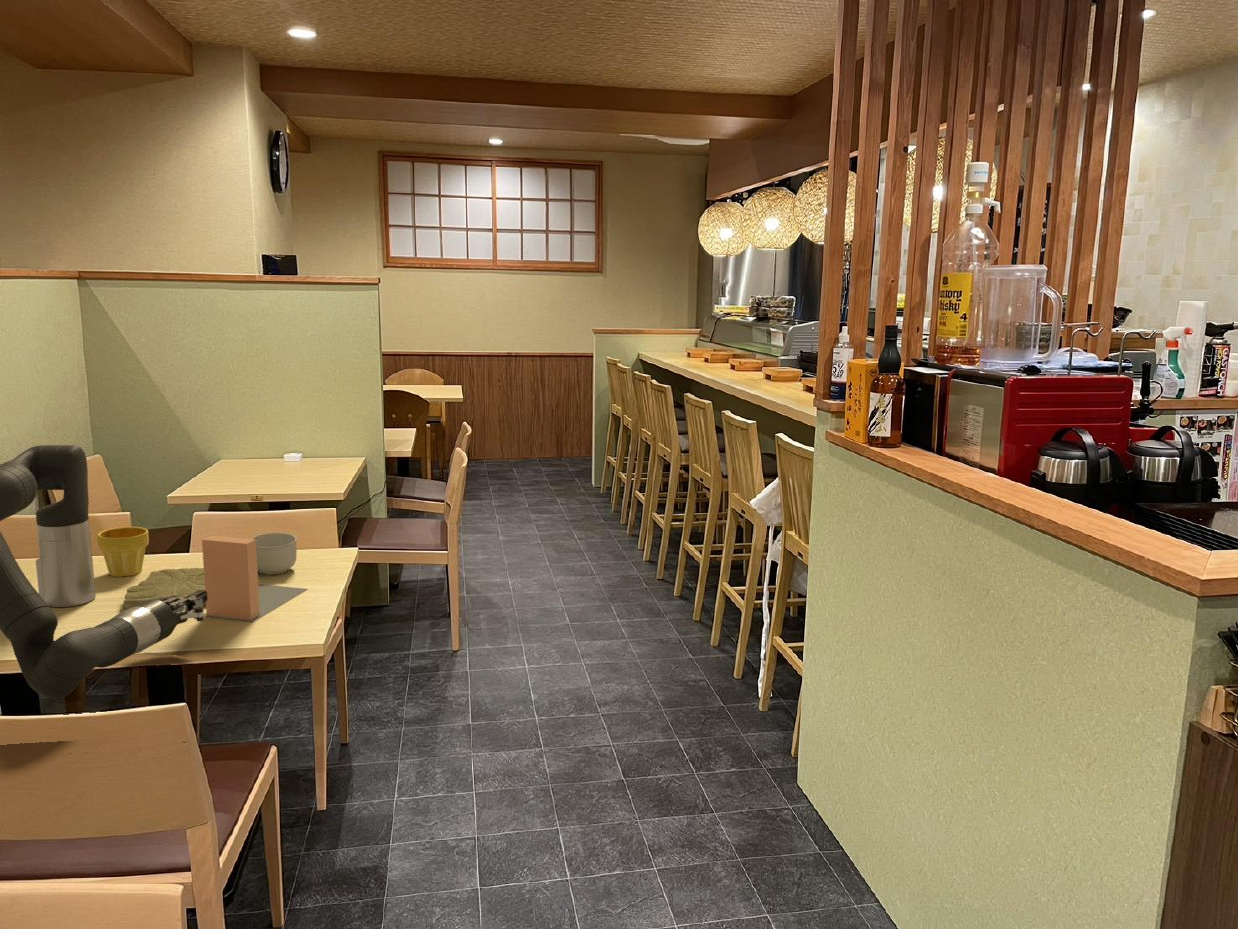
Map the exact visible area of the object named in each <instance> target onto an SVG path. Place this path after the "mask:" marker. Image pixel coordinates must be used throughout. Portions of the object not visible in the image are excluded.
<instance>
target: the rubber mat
mask: <svg viewBox="0 0 1238 929" xmlns="http://www.w3.org/2000/svg"><path fill="white" fill-rule="evenodd" d="M308 590H309V589H308V588H302V587H291V586H283V585H275V584H274V585H273V584H272V585H271V584H263V583H258V591H259V610H260V615H259V616H257V617H256V618H254V619H252V620H244V619H235V618H226V617H217V616H208V615H207V612H204V619H206V618H207V619H215V620H216V619H218V620H225V621H233V622H241V623H243V622H244V623H251V624H252V623H253V624H254V623H255V622H257V621H258V620H260V619H261V618H263V617H265V616H266V615H268V614H270V613H272V612H274V611H275V610H276V609H278V608H280V607H281V606H283V605H284V604H286V603H288V602H289V601H291V600H293V599H294V598H296V597H298V596H300V595H301V594H303V593H305V592H306V591H308Z"/></svg>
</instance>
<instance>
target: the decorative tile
mask: <svg viewBox="0 0 1238 929" xmlns="http://www.w3.org/2000/svg"><path fill="white" fill-rule="evenodd" d="M198 590H203V591H205V580H204V567H190V568H189V567H188V568H187V567H186V568H184V567H183V568H178V569H176V568H167V569H161V570H155V571H154V570H153V571H151V572H150V573H149V575H148V576H147V577H146V578H145V580H142V581H140V582H139V583H138V585H133V586H131V587H128V588H127V589H126V593H125V595H124V600H123V606H122V612H123V611H125V610H128V609H130V608H132V607H134V606H136V605H138V604H140V603H142V602H143V601H146V600H150V599H157V598H163V597H168V596H173V595H176V596H177V598H178V597H180V596H183V595H190V594H192V593H194V592H196V591H198ZM203 607H206V602H204V603H203Z"/></svg>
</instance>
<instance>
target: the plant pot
mask: <svg viewBox="0 0 1238 929" xmlns="http://www.w3.org/2000/svg"><path fill="white" fill-rule="evenodd" d="M149 538H150V537H149V530H148V529H147V528H146V527H140V526H118V527H113V528H108V529H105V530H104V529H103V530H102V531H100V532H98V533H97V547H98V549H99V550H100V551H101V552H102V555H103V559H104V561H105V565H106V568H107V572H108V574H109V575H110V576H111V577H114V578H115V577H116V578H123V577H122V576H126V577H130V576H129V575H132V576H135V574H136V575H138V574H140V573H141V572H142V571H143V565H144V558H145V553H146V547H148V546H149V540H150V539H149ZM139 572H140V573H139Z"/></svg>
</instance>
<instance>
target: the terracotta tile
mask: <svg viewBox="0 0 1238 929" xmlns="http://www.w3.org/2000/svg"><path fill="white" fill-rule="evenodd" d="M201 546H202V559H203V560H202V561H203V568H204V580H205V591H207V598H208V600H207V601H206V606H205V608H206V609H205V610H206V613H207V615H208V616H217V617H226V618H235V619H244V620H252V619H254V618H256V617H257V616H259V615H260V610H259V591H258V585H259V576H258V573H259V572H258V571H257V552H256V540H253V539H251V538H243V537H241V538H240V537H231V536H229V537H228V536H218V535H209V536H207V537H205V538H202V539H201Z"/></svg>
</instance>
